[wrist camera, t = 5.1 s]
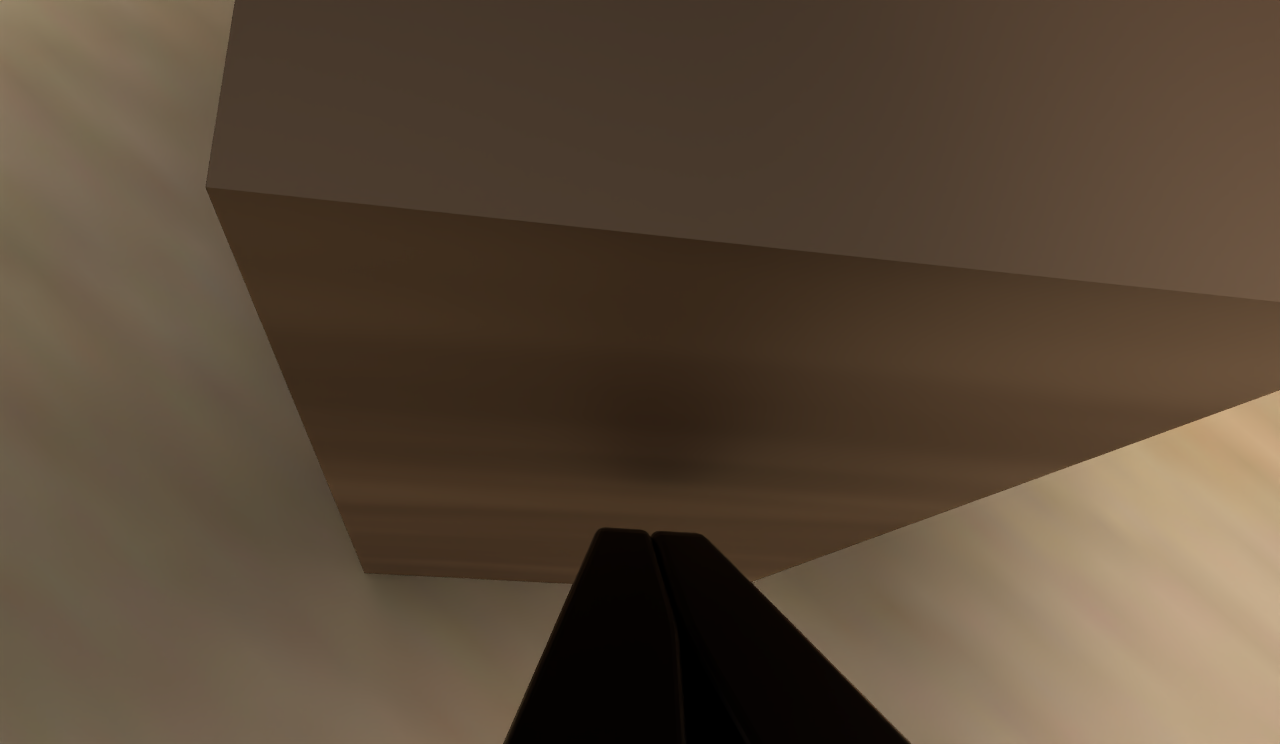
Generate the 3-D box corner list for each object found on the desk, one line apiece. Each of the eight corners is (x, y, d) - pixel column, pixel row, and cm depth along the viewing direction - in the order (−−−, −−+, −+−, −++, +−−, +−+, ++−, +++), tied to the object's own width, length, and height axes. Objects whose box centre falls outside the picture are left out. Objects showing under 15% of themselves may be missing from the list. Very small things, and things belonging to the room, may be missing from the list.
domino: (724, 591, 16) (1469, 321, 5) (364, 572, 15) (207, 186, 4) (725, 467, 16) (1398, -47, 5) (378, 443, 16) (274, -238, 4)
